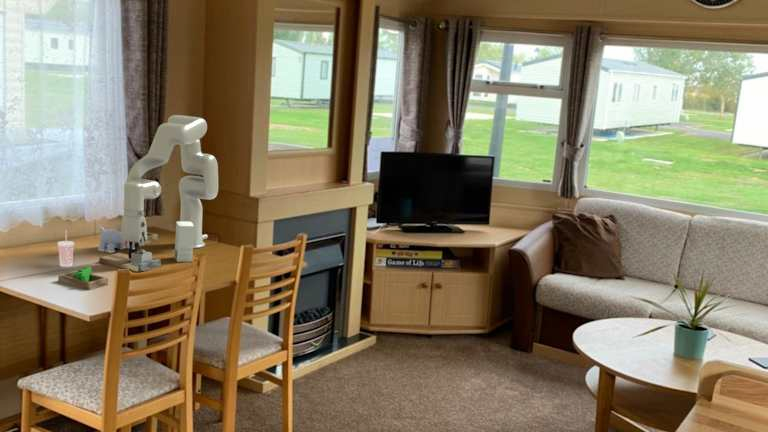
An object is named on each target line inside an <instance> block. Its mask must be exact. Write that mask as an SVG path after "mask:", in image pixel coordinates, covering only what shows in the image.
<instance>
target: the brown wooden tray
mask: <svg viewBox="0 0 768 432" xmlns="http://www.w3.org/2000/svg"><path fill="white" fill-rule="evenodd" d="M75 273H78V269H77V270H73V271H70V272H64V273H62V274H58V275H57V280H58V281H57V282H58V283H62V284H66V285H70V286H73V287H77V288H82V289H85V290H88V291H90V290H93V289H94V290H95V289H97V288H101V286H102V287H105V286H108V285H109V278H108V277H105V276H101V275H98V274H97V275H96V274H93V273H91V274H90V281H89V282H88V281H82V285H81V280H80V279H76V275H75ZM104 285H105V286H104Z"/></svg>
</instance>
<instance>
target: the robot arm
mask: <svg viewBox="0 0 768 432" xmlns="http://www.w3.org/2000/svg"><path fill="white" fill-rule="evenodd" d="M207 130H208V124H207V121H206V120H205V119H204V118H202V117H198V116H190V115H182V114H181V115H180V114H174V115H173V114H172V115H171V116H169V117H168V119H167V122H164V123H161V124H160V125H159V126H158V128H157V130H156V132H155V136H154V137H153V140H152V143H151V146H150V147H149V149H148V152H147V154H145V155H144V156H143V157H142V158H140V159H139V160H138V161H137V162H136V163H135V164H134V165H133V166H132V167H131V168H130V171H129V172H128V175H127V177H126V180H125V183H124V185H123V215H122V218H121V224H120V231H121V238H122V242H124V243H126V245H127V246H126V245H125V246H126V248H127V249H128V255H129V259H131V253H132V252H137V251H138V250H139V249H140V247H142V246H145V244H144V241H146V240H147V232H148V227H147V221H146V217H145V214H146V212H144V210H145V209H144V208H145V204H144V203H145V200H155V199H156V198H158V197H159V196H160V195H161V193H162V186H161V184H160V183H159V182H158V181H156V180H152V179H151V180H150V179H146V178H145V179H144V178H142V177H143V175H145V174H146V173H147V172H148V171H150V170H152V169H154V168H158V167H160V166H163V165H166V164H168V162H169V160H170V158H171V156H172V155H171V154H172V152H173V150H174V148H175V145H180V160H181V162H180V163H181V170H182V171H183V172H184V173H187V174H191V175H185V176H183V177H182V178H180V180H179V182H178V190H179V198H180V215H179V216H180V218H179V221H191V222H192V223H193V225H194V239H193V249H200V248H203V247H205V245H206V243H205V242H204V241H203V240H204V239H208V238H209V237H208V234H205V233H204V234H203V233H202V232H203V210H204V209H203V204H202V201H201V200H214V199H215V198H216V197H217V196H218V193H219V165H218V161H217V159H216V157H215V156H214V155H212V154H210V153H203V152H202V150H201V149H202V148H201V141H200V139H202V138H203V137H204V136H205V135H206V133H207ZM196 175H198V176H196ZM202 176H203V177H202Z"/></svg>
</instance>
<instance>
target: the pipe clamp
mask: <svg viewBox="0 0 768 432" xmlns="http://www.w3.org/2000/svg"><path fill="white" fill-rule="evenodd" d="M77 271H78V273H75V275H76V279H80V280H81V285H82V281H88V282H91V281H90V274H92V266H87V267H86V269H84V268H78V269H77Z"/></svg>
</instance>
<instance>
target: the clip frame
mask: <svg viewBox="0 0 768 432" xmlns="http://www.w3.org/2000/svg"><path fill="white" fill-rule="evenodd" d="M158 236H159V234H156V233H154V232H153V233H151V232H148V231H147V240H146V241H144V245H146V244H150V243H151V244H152V243H154V242H158V240H159V237H158Z"/></svg>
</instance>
